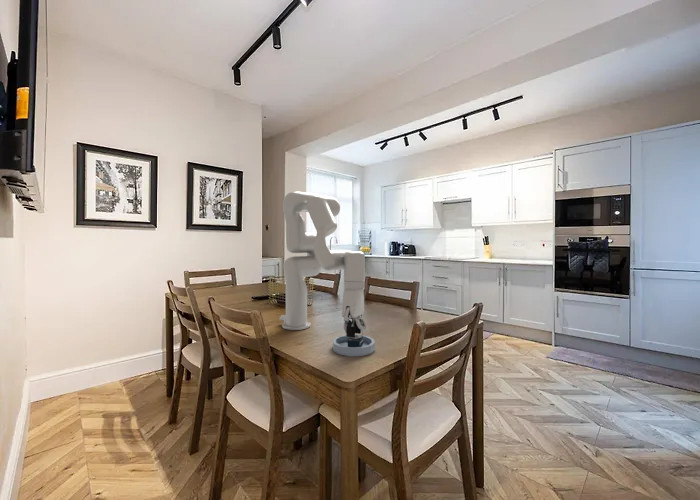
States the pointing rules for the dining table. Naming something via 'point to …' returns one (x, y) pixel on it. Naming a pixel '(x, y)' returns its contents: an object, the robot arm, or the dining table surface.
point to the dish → (343, 349)
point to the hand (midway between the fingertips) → (353, 334)
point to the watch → (358, 339)
